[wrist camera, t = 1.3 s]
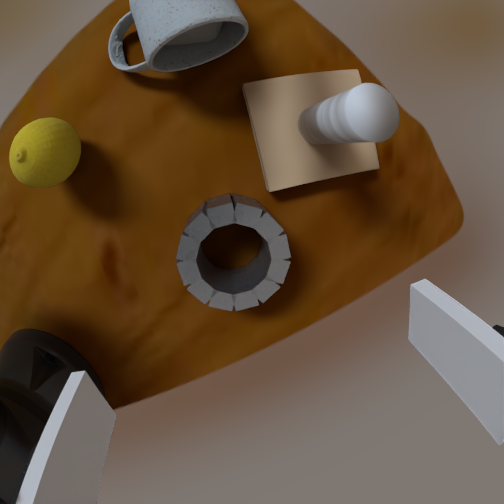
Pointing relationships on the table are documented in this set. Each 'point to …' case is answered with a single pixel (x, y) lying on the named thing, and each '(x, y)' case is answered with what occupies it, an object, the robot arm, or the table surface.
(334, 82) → the shaft stand
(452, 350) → the robot arm
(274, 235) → the ring
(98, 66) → the table surface
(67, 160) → the lemon
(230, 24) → the ceramic mug
